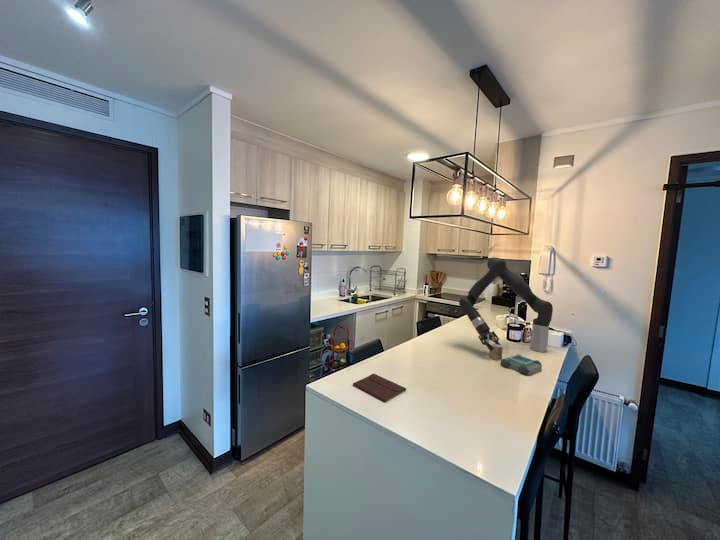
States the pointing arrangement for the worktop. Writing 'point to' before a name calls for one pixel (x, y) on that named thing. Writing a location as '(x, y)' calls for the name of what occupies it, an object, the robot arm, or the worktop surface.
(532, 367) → the chassis
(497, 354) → the engine block
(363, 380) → the notebook
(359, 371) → the worktop surface
